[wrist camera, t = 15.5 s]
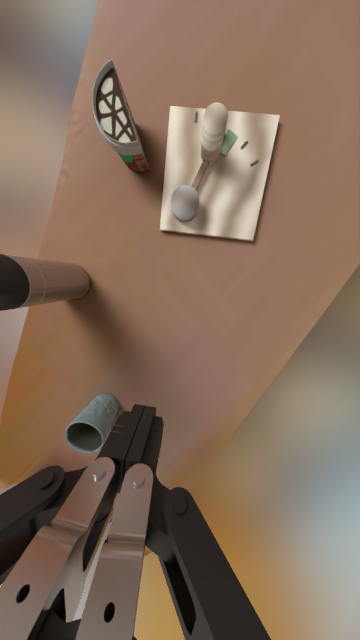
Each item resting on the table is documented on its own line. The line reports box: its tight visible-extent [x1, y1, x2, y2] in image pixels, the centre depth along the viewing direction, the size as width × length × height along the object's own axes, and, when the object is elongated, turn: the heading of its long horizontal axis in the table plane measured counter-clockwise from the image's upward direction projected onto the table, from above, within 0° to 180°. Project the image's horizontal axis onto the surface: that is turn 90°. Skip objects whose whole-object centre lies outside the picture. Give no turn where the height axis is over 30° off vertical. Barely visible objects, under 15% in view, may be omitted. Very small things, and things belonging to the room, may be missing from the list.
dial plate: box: [160, 106, 280, 241], centre depth 37 cm, size 22×23×1 cm
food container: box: [92, 59, 150, 173], centre depth 33 cm, size 12×6×10 cm, turn 18°
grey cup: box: [65, 393, 119, 453], centre depth 49 cm, size 10×10×12 cm
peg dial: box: [171, 102, 228, 222], centre depth 32 cm, size 18×6×8 cm, turn 152°
